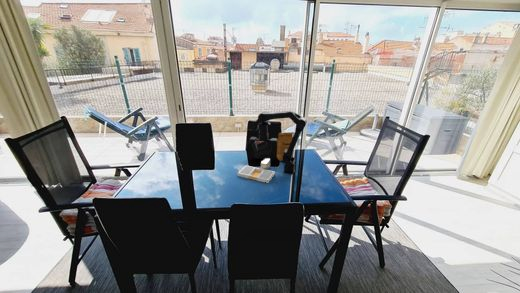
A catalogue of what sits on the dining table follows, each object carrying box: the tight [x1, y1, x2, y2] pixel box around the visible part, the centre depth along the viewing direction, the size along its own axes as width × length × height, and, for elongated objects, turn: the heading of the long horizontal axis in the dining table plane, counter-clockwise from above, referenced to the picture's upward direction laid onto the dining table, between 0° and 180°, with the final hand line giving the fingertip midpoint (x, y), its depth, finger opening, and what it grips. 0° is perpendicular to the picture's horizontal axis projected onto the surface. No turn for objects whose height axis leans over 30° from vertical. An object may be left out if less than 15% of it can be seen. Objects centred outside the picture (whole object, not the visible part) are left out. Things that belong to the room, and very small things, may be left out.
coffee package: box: [276, 131, 295, 162], centre depth 166 cm, size 10×12×22 cm
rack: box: [237, 164, 276, 184], centre depth 146 cm, size 22×12×2 cm, turn 67°
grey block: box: [260, 158, 271, 170], centre depth 154 cm, size 4×8×6 cm, turn 157°
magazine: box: [251, 142, 270, 160], centre depth 169 cm, size 4×13×15 cm, turn 95°
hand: (263, 152), depth 152 cm, fingers open, 9 cm apart
